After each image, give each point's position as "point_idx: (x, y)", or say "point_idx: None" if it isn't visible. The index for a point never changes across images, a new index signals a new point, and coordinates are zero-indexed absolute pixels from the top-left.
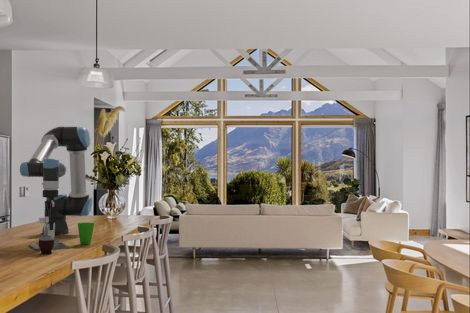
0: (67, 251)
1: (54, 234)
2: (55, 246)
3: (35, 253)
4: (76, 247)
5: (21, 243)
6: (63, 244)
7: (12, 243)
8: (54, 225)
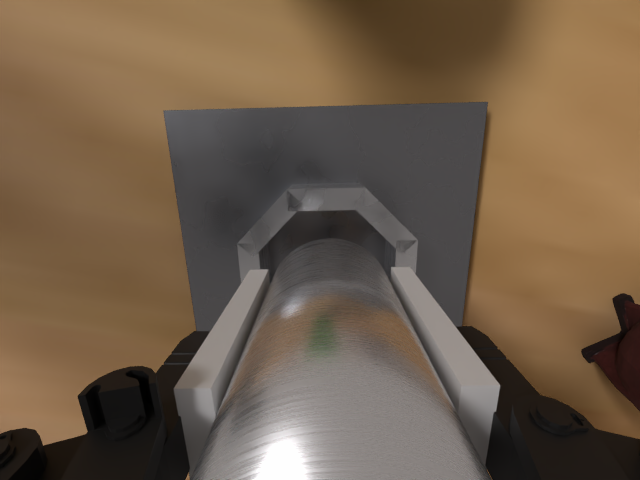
0: (636, 166)
1: (363, 254)
2: (405, 222)
3: (575, 390)
4: (451, 18)
5: (53, 393)
6: (307, 123)
7: (43, 440)
8: (398, 324)
